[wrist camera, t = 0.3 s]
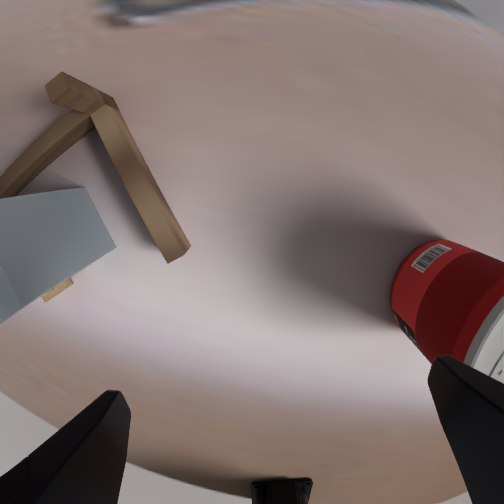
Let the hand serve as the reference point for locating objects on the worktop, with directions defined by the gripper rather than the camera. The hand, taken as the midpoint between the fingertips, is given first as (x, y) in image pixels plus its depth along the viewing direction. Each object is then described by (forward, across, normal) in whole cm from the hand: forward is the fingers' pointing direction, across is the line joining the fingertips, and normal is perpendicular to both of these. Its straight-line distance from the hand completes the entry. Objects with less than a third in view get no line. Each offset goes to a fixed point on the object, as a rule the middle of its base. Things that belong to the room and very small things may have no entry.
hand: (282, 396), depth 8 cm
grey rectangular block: (+14, +12, -2) cm, 19 cm away
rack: (+14, +13, -3) cm, 20 cm away
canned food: (+14, -13, +5) cm, 20 cm away
